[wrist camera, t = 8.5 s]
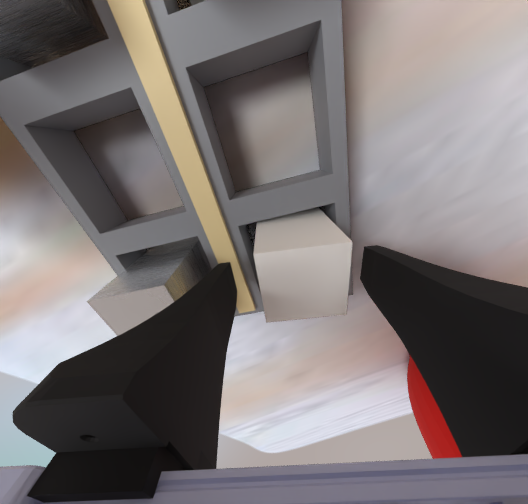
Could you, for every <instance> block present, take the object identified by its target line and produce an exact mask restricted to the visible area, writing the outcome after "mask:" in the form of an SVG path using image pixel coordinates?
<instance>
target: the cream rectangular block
mask: <svg viewBox="0 0 528 504" xmlns="http://www.w3.org/2000/svg"><path fill="white" fill-rule="evenodd" d="M253 255H254V260H255V265H256V271H257V276H258V281H259V286H260V291H261V297H262V302H263V307H264V312H265V317H266V323H267V322H277V321H287V320H297V319H307V318H317V317H327V316H337V315H347V303H348V291H349V279H350V267H351V255H352V241H351V240H350V239H349V238H348V237H347V236H346V235H345V234H344V233H343V232H342V231H341V230H340V229H339V228H338V227H337V226H336V225H335V224H334V223H333V222H332V221H331V220H330V219H329V218H328V217H327V216H326V215H325V214H324V213H323V212H322V211H321V210H320V209H319V208H318V207H315V208H311V209H307V210H303V211H299V212H295V213H290V214H286V215H282V216H278V217H274V218H270V219H266V220H261V221H257V225H256V234H255V244H254V253H253Z"/></svg>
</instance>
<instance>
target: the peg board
mask: <svg viewBox="0 0 528 504" xmlns="http://www.w3.org/2000/svg"><path fill="white" fill-rule="evenodd" d="M92 1H93V3H94V5H95V8H96V10H97V12H98V14H99V17H100V19H101V21H102V23H103V26H104V28H105V30H106V32H107V35H108V37H109V39H106V40H104V41H101V42H98V43H96V44H93V45H91V46H88V47H86V48H83V49H81V50H78V51H76V52H73V53H70V54H68V55H65V56H63V57H60V58H58V59H55V60H53V61H50V62H48V63H45V64H42V65H40V66H37V67H35V68H31V67H28V66H25V65H23V64H20V63H17V62H14V61H12V60H9V59H6V58H4V57H1V56H0V117H1V118H2V119H3V121H4V122H5V123H6V125H7V126H8V127H9V129H10V130H11V132H12V133H13V134H14V136H15V137H16V138H17V140H18V141H19V142H20V144H21V145H22V146H23V148H24V149H25V150H26V152H27V153H28V155H29V156H30V157H31V159H32V160H33V161H34V163H35V164H36V165H37V167H38V168H39V169H40V171H41V172H42V174H43V175H44V176H45V178H46V179H47V180H48V182H49V183H50V184H51V186H52V187H53V188H54V190H55V191H56V193H57V194H58V195H59V197H60V198H61V199H62V201H63V202H64V203H65V205H66V206H67V207H68V209H69V210H70V212H71V213H72V214H73V216H74V217H75V218H76V220H77V221H78V222H79V224H80V225H81V226H82V228H83V229H84V231H85V232H86V233H87V235H88V236H89V237H90V239H91V240H92V241H93V243H94V244H95V245H96V247H97V248H98V249H99V251H100V252H101V254H102V255H103V256H104V258H105V259H106V260H107V262H108V263H109V264H110V266H111V267H112V268H113V270H114V271H115V273H116V274H117V275H119V274H121V273H122V272H123V271H124V270H125V269H127V268H128V267H129V266H130V265H131V264H133V263H134V262H135V261H136V260H137V259H139V258H140V257H141V256H142V255H143V254H145V253H146V250H145V248H149V247H154V246H158V245H162V244H166V243H170V242H174V241H179V240H183V239H187V238H191V237H195V236H198V238H199V240H200V243H201V245H202V247H203V249H204V251H205V254H206V256H207V258H208V260H209V263H210V265H211V267H212V269H213V268H214V267H215V266H217V265H218V264H219V263H226V262H230V263H231V267H232V271H233V275H234V279H235V283H236V287H237V291H238V292H237V304H236V311H235V315H234V317H235V316H240V315H245V314H251V313H256V312H262V311H264V307H263V302H262V297H261V291H260V286H259V281H258V276H257V271H256V265H255V260H254V255H253V253H254V249H253V246H252V243H251V240H250V236H249V233H248V230H247V227H246V224H249V223H253V222H257V221H261V220H266V219H270V218H274V217H278V216H282V215H286V214H290V213H295V212H299V211H303V210H307V209H311V208H315V207H320V206H324V214H325V215H326V216H327V217H328V218H329V219H330V220H331V221H332V222H333V223H334V224H335V225H336V226H337V227H338V228H339V229H340V230H341V231H342V232H343V233H344V234H345V235H346V236H347V237H348V238H349V239H350V240H351V232H350V207H349V182H348V157H347V132H346V107H345V82H344V56H343V31H342V6H341V0H205V1H203V2H200V3H198V4H195V5H193V6H190V7H188V8H185V9H182V10H179V7H178V4H177V0H92ZM306 52H308V60H309V70H310V79H311V89H312V99H313V108H314V118H315V128H316V137H317V147H318V157H319V166H320V170H318V171H314V172H310V173H306V174H303V175H299V176H295V177H291V178H287V179H284V180H280V181H276V182H272V183H268V184H265V185H261V186H257V187H253V188H249V189H246V190H242V191H238V192H236V191H235V188H234V185H233V182H232V178H231V175H230V172H229V169H228V165H227V162H226V159H225V156H224V152H223V149H222V146H221V143H220V139H219V136H218V133H217V130H216V127H215V123H214V120H213V117H212V114H211V110H210V107H209V104H208V101H207V97H206V94H205V91H204V88H203V87H205V86H208V85H211V84H214V83H217V82H220V81H223V80H226V79H229V78H232V77H234V76H237V75H240V74H243V73H246V72H249V71H252V70H255V69H258V68H261V67H264V66H267V65H270V64H273V63H276V62H279V61H282V60H285V59H288V58H291V57H294V56H297V55H300V54H303V53H306ZM140 108H141V111H142V113H143V115H144V117H145V120H146V122H147V124H148V126H149V128H150V131H151V133H152V135H153V137H154V140H155V142H156V144H157V146H158V149H159V151H160V153H161V155H162V158H163V160H164V162H165V164H166V167H167V169H168V171H169V173H170V175H171V178H172V180H173V182H174V184H175V187H176V189H177V191H178V193H179V196H180V198H181V200H182V202H183V205H184V206H181V207H177V208H173V209H170V210H166V211H162V212H158V213H154V214H151V215H147V216H143V217H139V218H135V219H132V220H127V219H126V217H125V215H124V214H123V212H122V210H121V209H120V207H119V205H118V204H117V202H116V201H115V199H114V197H113V196H112V194H111V192H110V191H109V189H108V187H107V186H106V184H105V182H104V181H103V179H102V178H101V176H100V174H99V173H98V171H97V169H96V168H95V166H94V164H93V163H92V161H91V159H90V158H89V156H88V155H87V153H86V151H85V150H84V148H83V146H82V145H81V143H80V141H79V140H78V138H77V136H76V135H75V133H74V132H73V131H74V130H77V129H80V128H83V127H86V126H89V125H92V124H95V123H98V122H101V121H104V120H107V119H110V118H113V117H116V116H119V115H122V114H125V113H128V112H131V111H134V110H137V109H140ZM349 295H353V283H352V258H351V267H350V279H349V291H348V296H349Z"/></svg>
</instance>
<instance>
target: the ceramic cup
mask: <svg viewBox="0 0 528 504" xmlns="http://www.w3.org/2000/svg"><path fill="white" fill-rule="evenodd" d="M407 381H408V392H409V398H410V402H411V406H412V410H413V413H414V416H415V418H416V421H417V424H418V426H419V429H420V431H421V434H422V436H423V438H424V440H425V443H426V445H427V447H428V449H429V451H430V453H431V455H432V458H433V459H437V458H458V457H462V455H461V453H460V451H459V449H458V447H457V444H456V442H455V440H454V438H453V436H452V434H451V432H450V430H449V428H448V426H447V424H446V422H445V419H444V417H443V415H442V413H441V411H440V409H439V407H438V405H437V403H436V402H435V400H434V398H433V396H432V394H431V392H430V390H429V388H428V386H427V384H426V382H425V380H424V379H423V377H422V375H421V373H420V371H419V370H418V368H417V366H416V364H415V362H414V361H413V359H412V357H411V356H410V360H409V364H408V373H407Z"/></svg>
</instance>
